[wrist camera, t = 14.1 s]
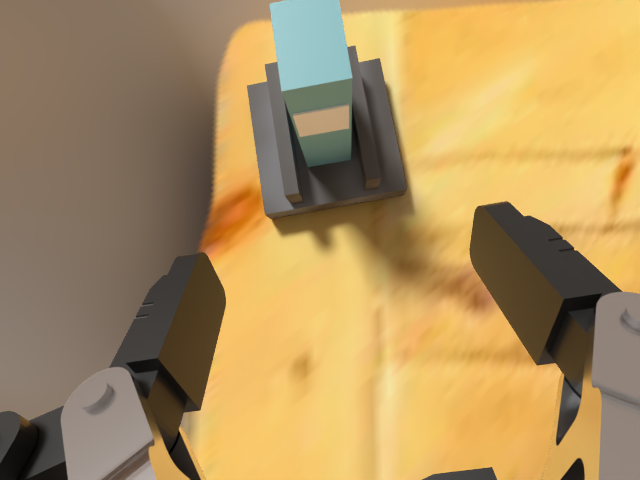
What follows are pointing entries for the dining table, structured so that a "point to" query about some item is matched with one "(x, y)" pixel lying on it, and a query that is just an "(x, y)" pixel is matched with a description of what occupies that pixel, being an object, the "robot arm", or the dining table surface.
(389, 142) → the book stand
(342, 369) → the dining table surface
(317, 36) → the teal book
